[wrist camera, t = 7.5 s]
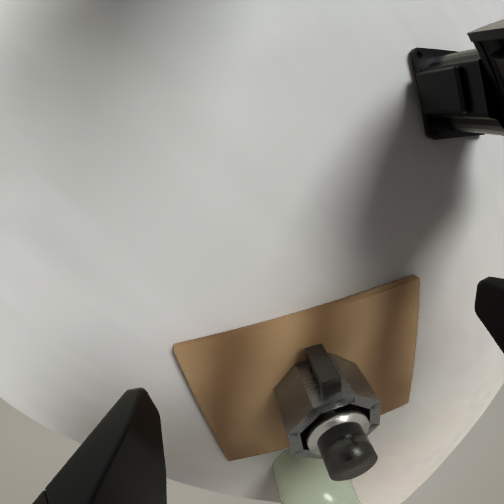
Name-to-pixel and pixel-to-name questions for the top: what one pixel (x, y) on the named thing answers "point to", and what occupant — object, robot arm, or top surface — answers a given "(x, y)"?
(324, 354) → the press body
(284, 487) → the sage mug
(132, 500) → the robot arm
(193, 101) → the top surface
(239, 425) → the walnut board
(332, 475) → the plunger
